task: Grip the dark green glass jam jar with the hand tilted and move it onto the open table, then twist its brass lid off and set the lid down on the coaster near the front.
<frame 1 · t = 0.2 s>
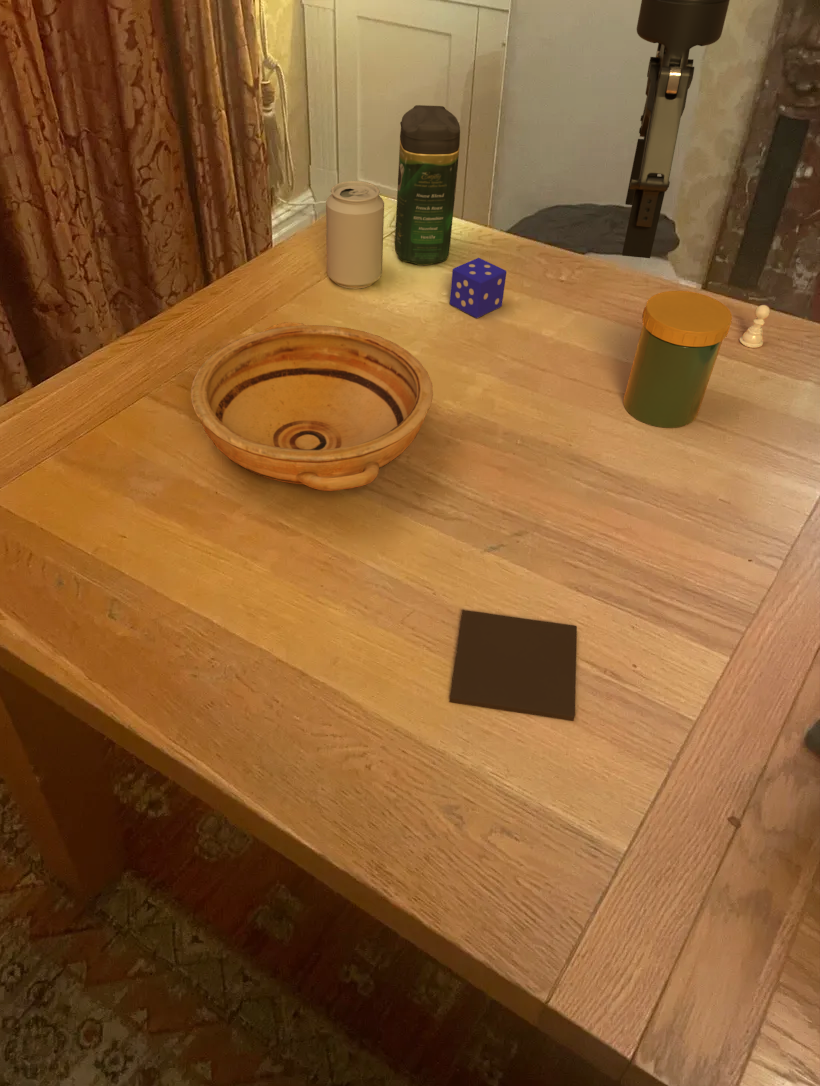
hand: (636, 229, 95), 18 cm above the table, tool pointing down, fingers open, 13 cm apart
chess pawn: (750, 344, 114), on the table
jar: (660, 406, 104), on the table
die: (475, 307, 119), on the table
coaster: (514, 664, 76), on the table
jar lid: (688, 313, 95), point 12 cm above the table, screwed on, not yet turned
ceramic bowl: (314, 450, 97), on the table
can: (354, 279, 124), on the table
coffee jar: (421, 253, 130), on the table
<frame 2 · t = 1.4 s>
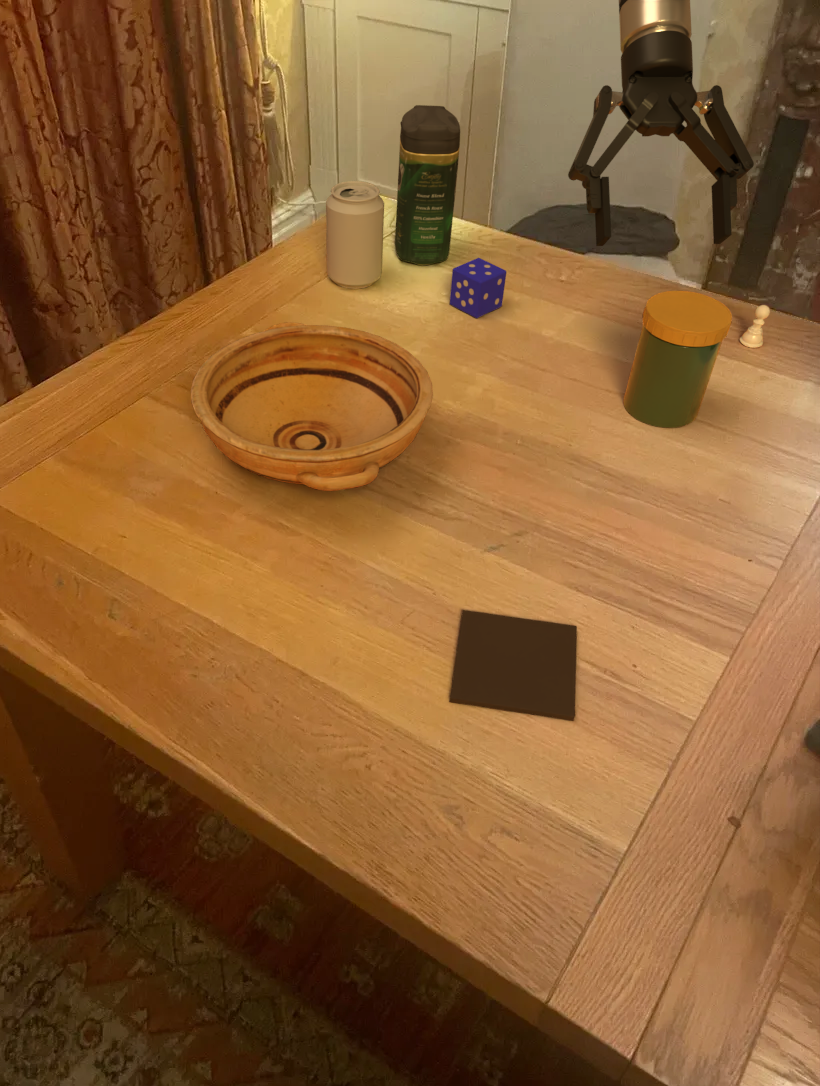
hand: (663, 240, 101), 15 cm above the table, tool tilted 45°, fingers open, 13 cm apart
nothing on the table moved.
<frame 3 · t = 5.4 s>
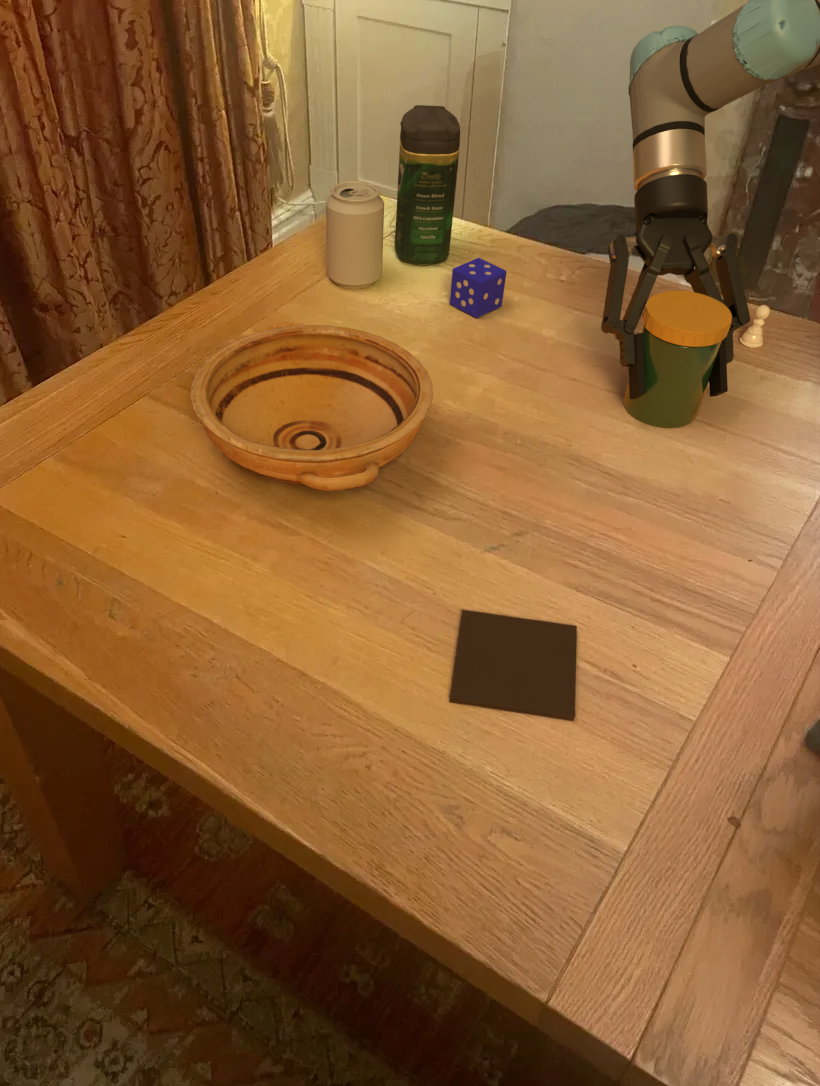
hand: (678, 395, 99), 4 cm above the table, tool tilted 45°, fingers closed on jar, 8 cm apart
jar: (660, 406, 104), on the table, touching gripper
everything else where it was.
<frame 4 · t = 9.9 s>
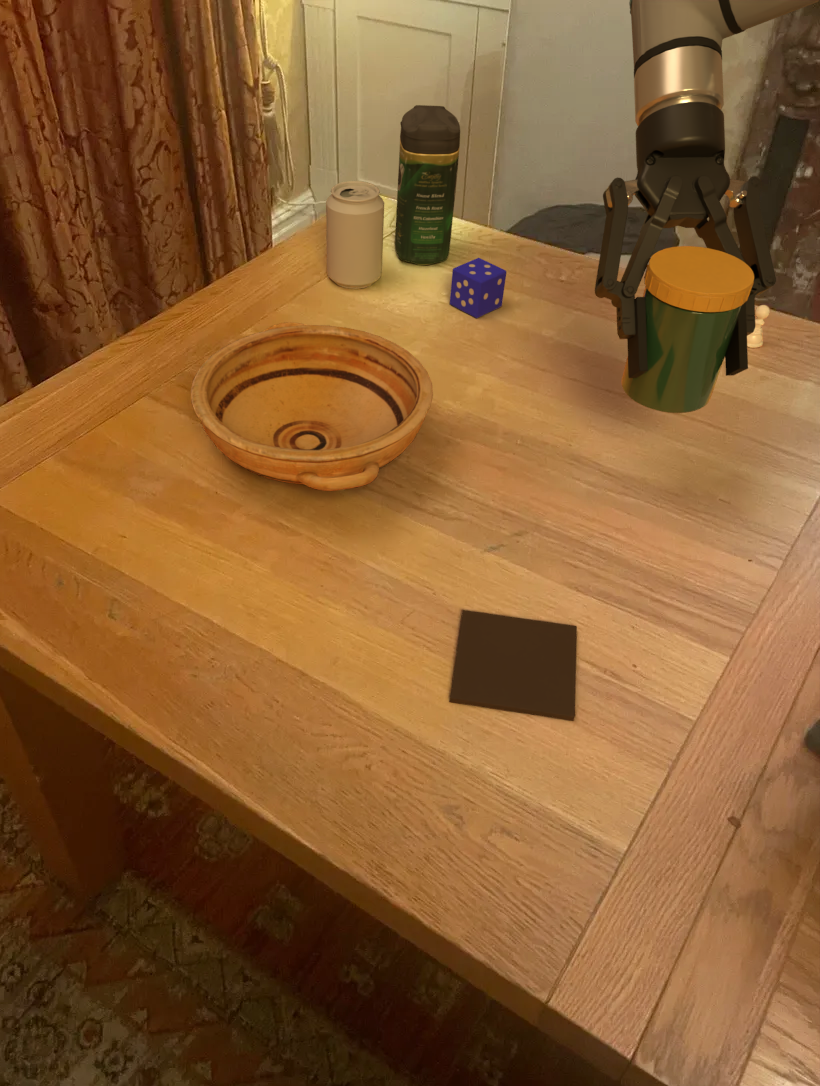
hand: (687, 373, 81), 15 cm above the table, tool tilted 45°, fingers closed on jar, 8 cm apart
jar: (665, 388, 86), point 11 cm above the table, touching gripper
jar lid: (700, 272, 78), point 23 cm above the table, screwed on, not yet turned
everything else where it was.
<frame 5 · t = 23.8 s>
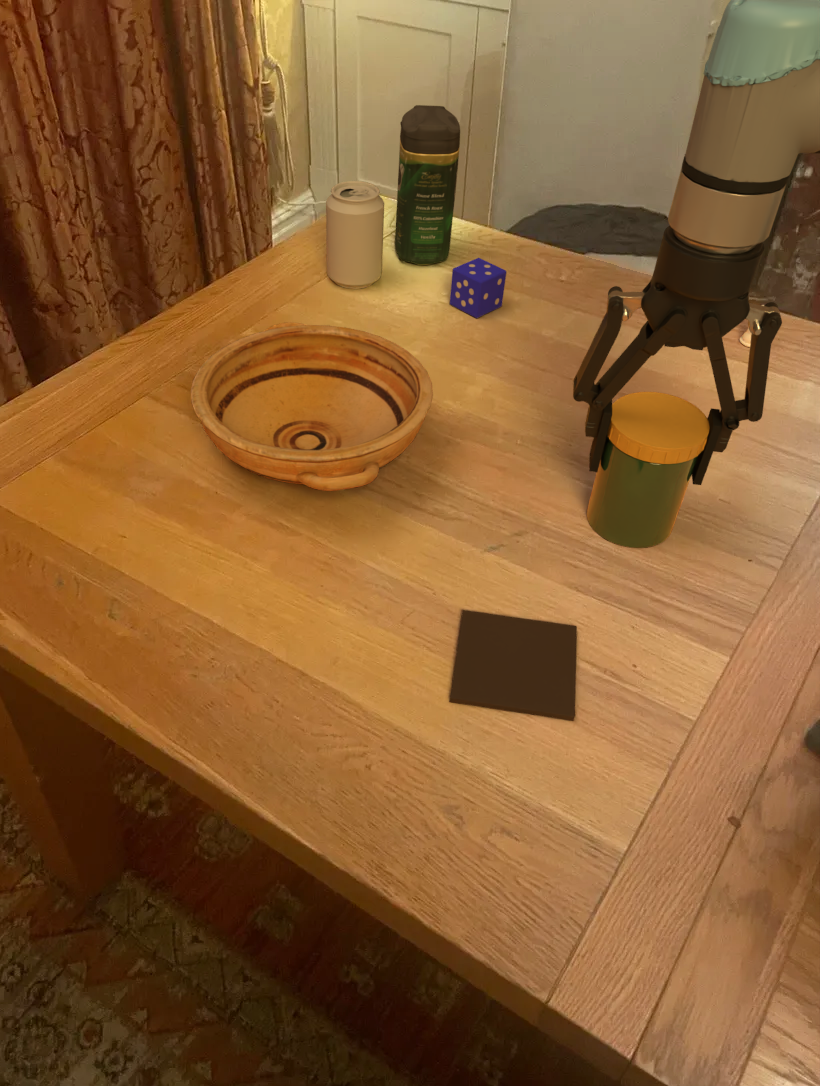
hand: (644, 469, 85), 6 cm above the table, tool pointing down, fingers closed on jar lid, 9 cm apart
jar: (629, 519, 90), on the table
jar lid: (658, 421, 81), point 12 cm above the table, screwed on, not yet turned, touching gripper
everything else where it was.
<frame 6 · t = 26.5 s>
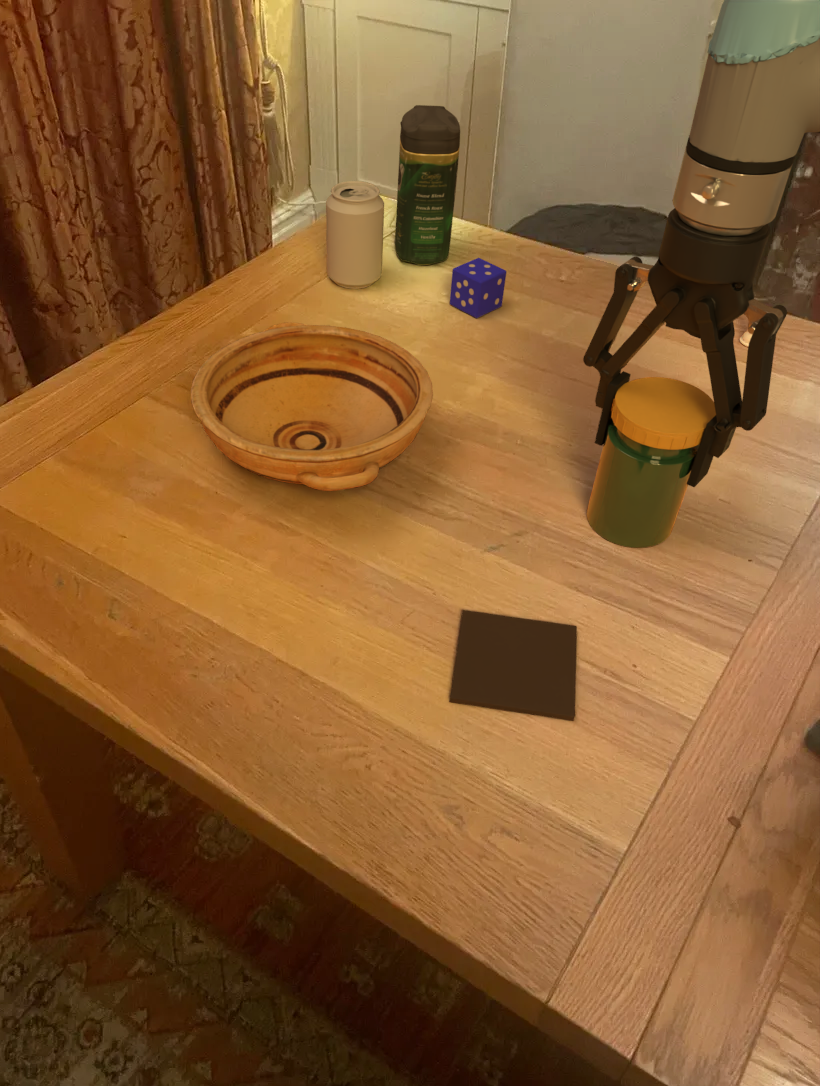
hand: (649, 457, 84), 8 cm above the table, tool pointing down, fingers closed on jar lid, 9 cm apart
jar: (629, 519, 90), on the table, touching gripper
jar lid: (664, 407, 80), point 13 cm above the table, off its thread, touching gripper
everything else where it was.
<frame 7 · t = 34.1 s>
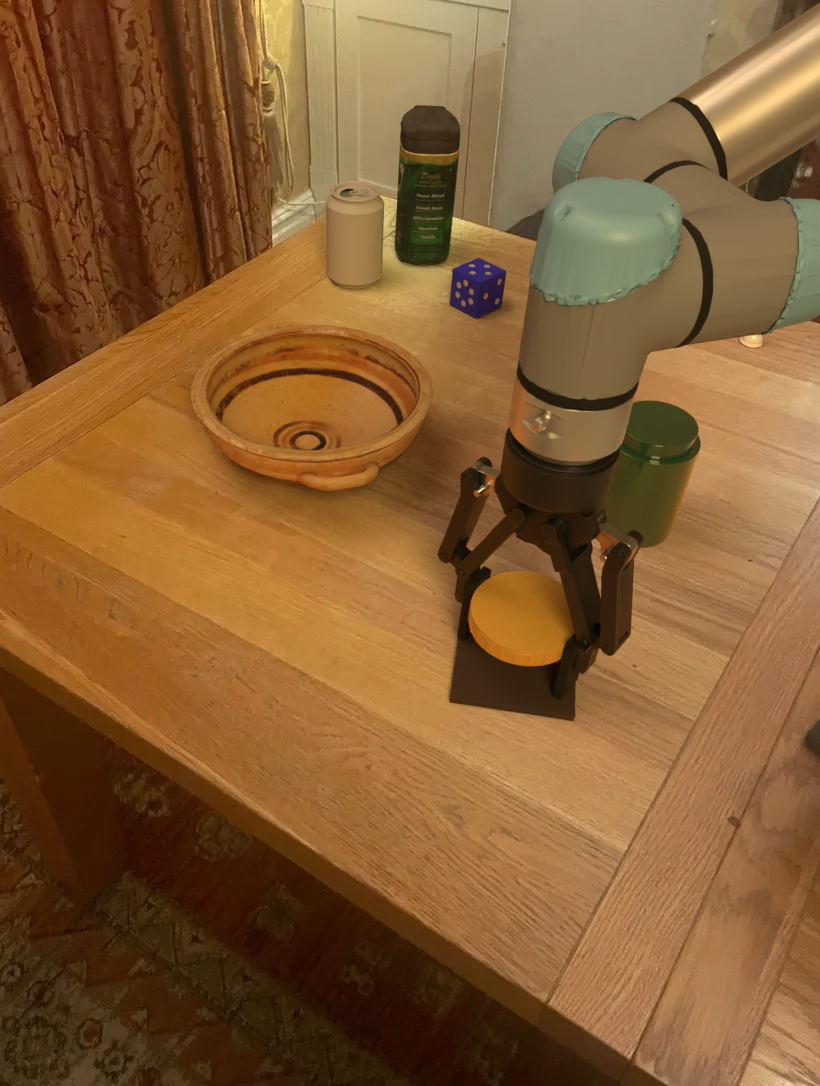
hand: (516, 658, 76), 1 cm above the table, tool pointing down, fingers closed on jar lid, 9 cm apart
jar: (628, 519, 90), on the table
jar lid: (526, 612, 72), point 6 cm above the table, off its thread, touching gripper
everything else where it was.
when the fingers open (2 cm above the table, at t = 43.7 s): jar lid drops 6 cm, resting on coaster.
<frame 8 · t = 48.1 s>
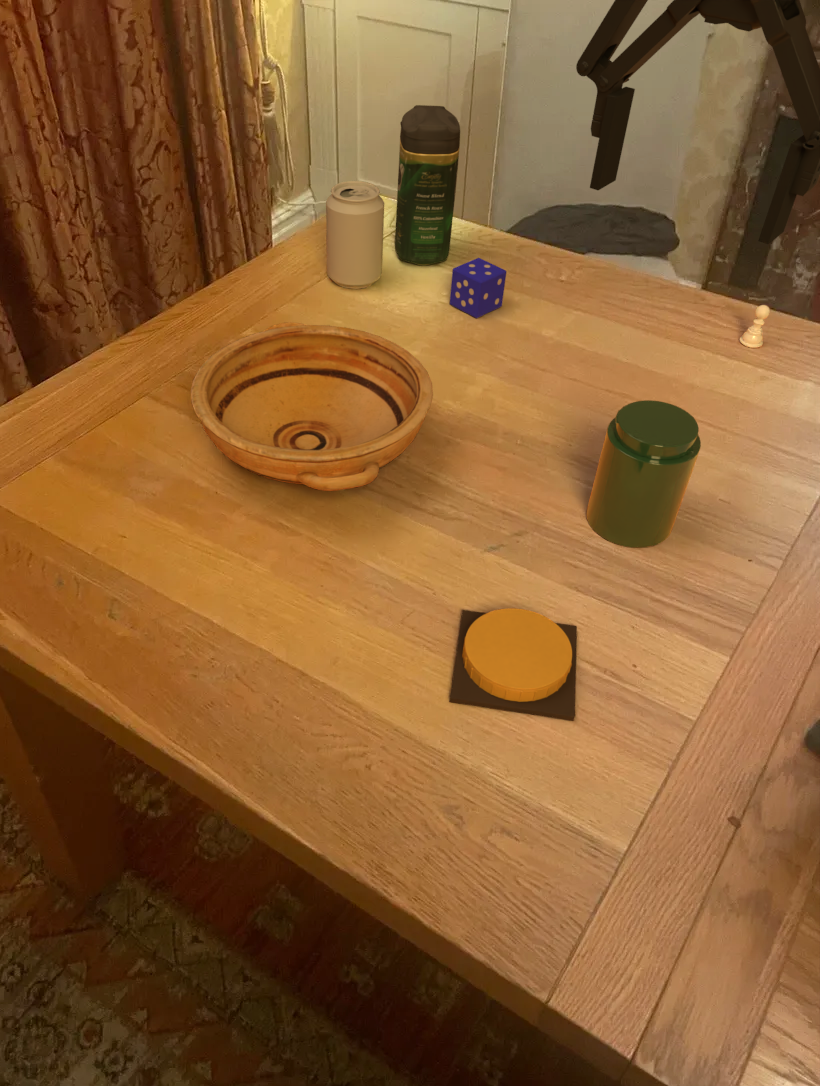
hand: (682, 209, 67), 31 cm above the table, tool pointing down, fingers open, 13 cm apart
jar lid: (517, 649, 75), point 2 cm above the table, off its thread, touching coaster
everything else where it was.
at the end: jar inside the target area (0.1 cm from its centre), on the table; jar lid inside the target area on the coaster (0.0 cm from its centre), point 2.0 cm above the coaster's base; the gripper is holding nothing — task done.
